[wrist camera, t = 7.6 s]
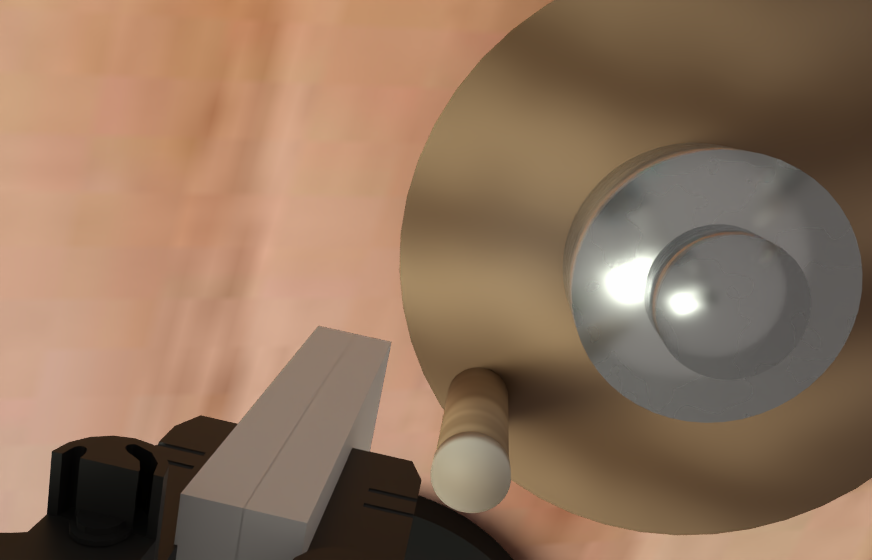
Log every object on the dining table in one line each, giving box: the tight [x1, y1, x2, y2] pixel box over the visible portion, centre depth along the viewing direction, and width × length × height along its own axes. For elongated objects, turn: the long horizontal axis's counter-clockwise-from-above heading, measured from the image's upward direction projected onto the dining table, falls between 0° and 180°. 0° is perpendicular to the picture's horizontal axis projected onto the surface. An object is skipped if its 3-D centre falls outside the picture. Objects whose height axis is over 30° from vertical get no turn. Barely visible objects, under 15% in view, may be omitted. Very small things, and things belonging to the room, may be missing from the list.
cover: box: [563, 143, 863, 423], centre depth 25 cm, size 9×9×6 cm
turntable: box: [400, 0, 872, 535], centre depth 25 cm, size 22×22×8 cm
